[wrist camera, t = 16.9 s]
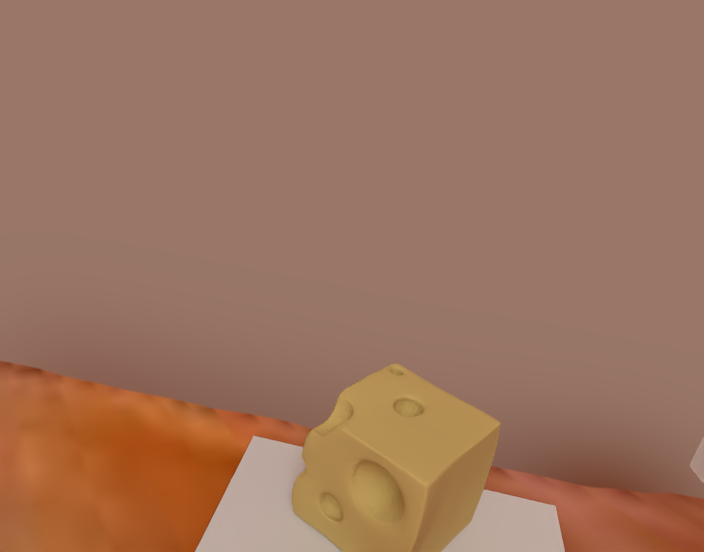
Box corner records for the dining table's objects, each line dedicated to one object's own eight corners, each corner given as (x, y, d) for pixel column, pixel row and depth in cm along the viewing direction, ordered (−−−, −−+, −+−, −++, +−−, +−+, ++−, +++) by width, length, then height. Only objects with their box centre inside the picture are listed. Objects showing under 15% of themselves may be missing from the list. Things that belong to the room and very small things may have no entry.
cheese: (287, 513, 45) (303, 402, 41) (378, 452, 52) (398, 354, 48) (396, 608, 39) (427, 490, 35) (480, 523, 46) (513, 419, 43)
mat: (192, 563, 40) (193, 555, 40) (253, 443, 52) (253, 435, 52) (582, 663, 38) (586, 655, 38) (552, 513, 50) (555, 505, 50)
